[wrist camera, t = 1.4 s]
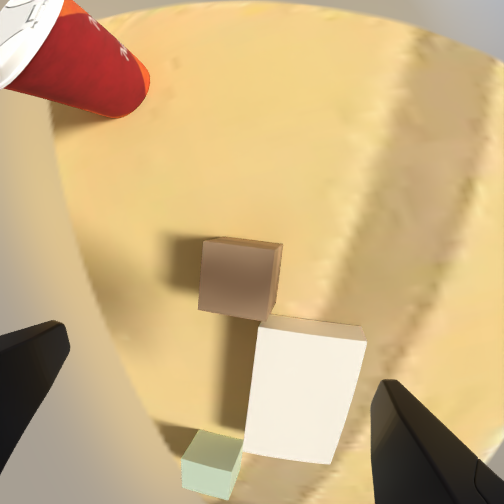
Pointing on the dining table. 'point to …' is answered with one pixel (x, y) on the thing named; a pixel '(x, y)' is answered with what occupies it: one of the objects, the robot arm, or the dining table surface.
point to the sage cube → (212, 464)
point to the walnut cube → (239, 277)
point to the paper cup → (68, 58)
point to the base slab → (302, 387)
